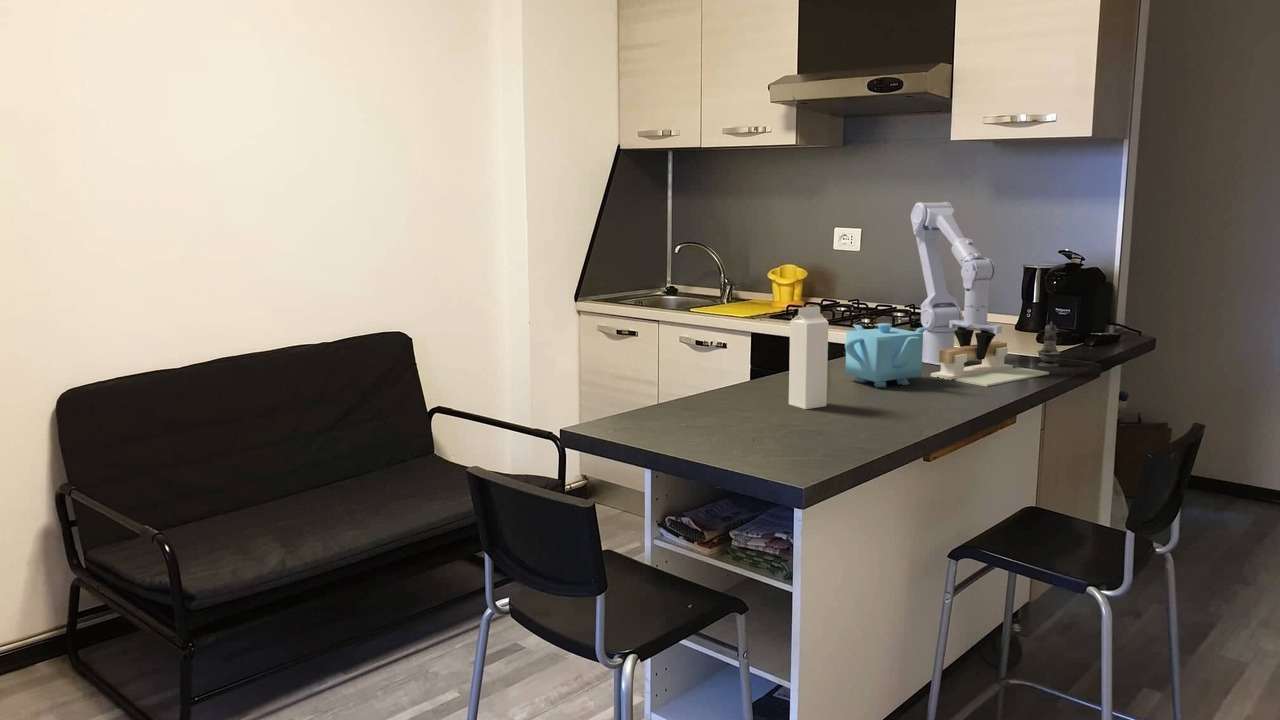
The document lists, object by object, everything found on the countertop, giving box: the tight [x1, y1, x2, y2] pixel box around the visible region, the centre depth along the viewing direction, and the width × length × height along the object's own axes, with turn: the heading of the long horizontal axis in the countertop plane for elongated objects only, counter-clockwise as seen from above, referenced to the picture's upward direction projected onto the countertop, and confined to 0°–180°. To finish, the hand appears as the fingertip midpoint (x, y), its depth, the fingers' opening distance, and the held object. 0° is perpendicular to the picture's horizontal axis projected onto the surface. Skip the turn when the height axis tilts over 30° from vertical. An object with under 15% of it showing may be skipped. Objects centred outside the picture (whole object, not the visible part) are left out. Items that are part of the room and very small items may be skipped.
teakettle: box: [844, 322, 929, 388], centre depth 238 cm, size 19×19×15 cm
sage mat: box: [954, 366, 1050, 387], centre depth 243 cm, size 9×26×1 cm, turn 125°
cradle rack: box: [930, 346, 1014, 381], centre depth 250 cm, size 6×26×6 cm, turn 125°
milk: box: [788, 305, 829, 410], centre depth 212 cm, size 6×6×22 cm
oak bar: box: [939, 340, 1008, 364], centre depth 250 cm, size 3×24×3 cm, turn 125°
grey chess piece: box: [1037, 320, 1062, 368], centre depth 258 cm, size 6×6×12 cm
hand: (973, 358), depth 250 cm, fingers open, 4 cm apart
